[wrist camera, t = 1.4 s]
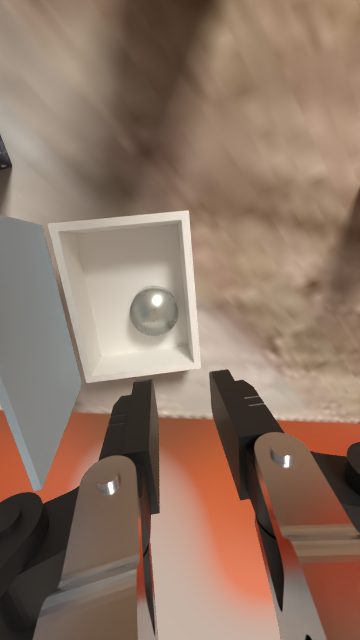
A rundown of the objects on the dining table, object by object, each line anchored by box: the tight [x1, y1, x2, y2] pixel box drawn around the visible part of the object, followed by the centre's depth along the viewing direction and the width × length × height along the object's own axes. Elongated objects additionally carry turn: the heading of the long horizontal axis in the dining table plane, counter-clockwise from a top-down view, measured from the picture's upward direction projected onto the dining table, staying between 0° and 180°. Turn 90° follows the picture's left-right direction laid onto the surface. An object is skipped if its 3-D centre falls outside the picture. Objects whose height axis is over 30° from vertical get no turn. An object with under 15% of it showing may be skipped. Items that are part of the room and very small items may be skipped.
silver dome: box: [130, 285, 178, 336], centre depth 31 cm, size 6×6×3 cm
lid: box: [0, 215, 82, 491], centre depth 20 cm, size 13×18×1 cm
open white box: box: [48, 210, 201, 383], centre depth 30 cm, size 14×18×6 cm
